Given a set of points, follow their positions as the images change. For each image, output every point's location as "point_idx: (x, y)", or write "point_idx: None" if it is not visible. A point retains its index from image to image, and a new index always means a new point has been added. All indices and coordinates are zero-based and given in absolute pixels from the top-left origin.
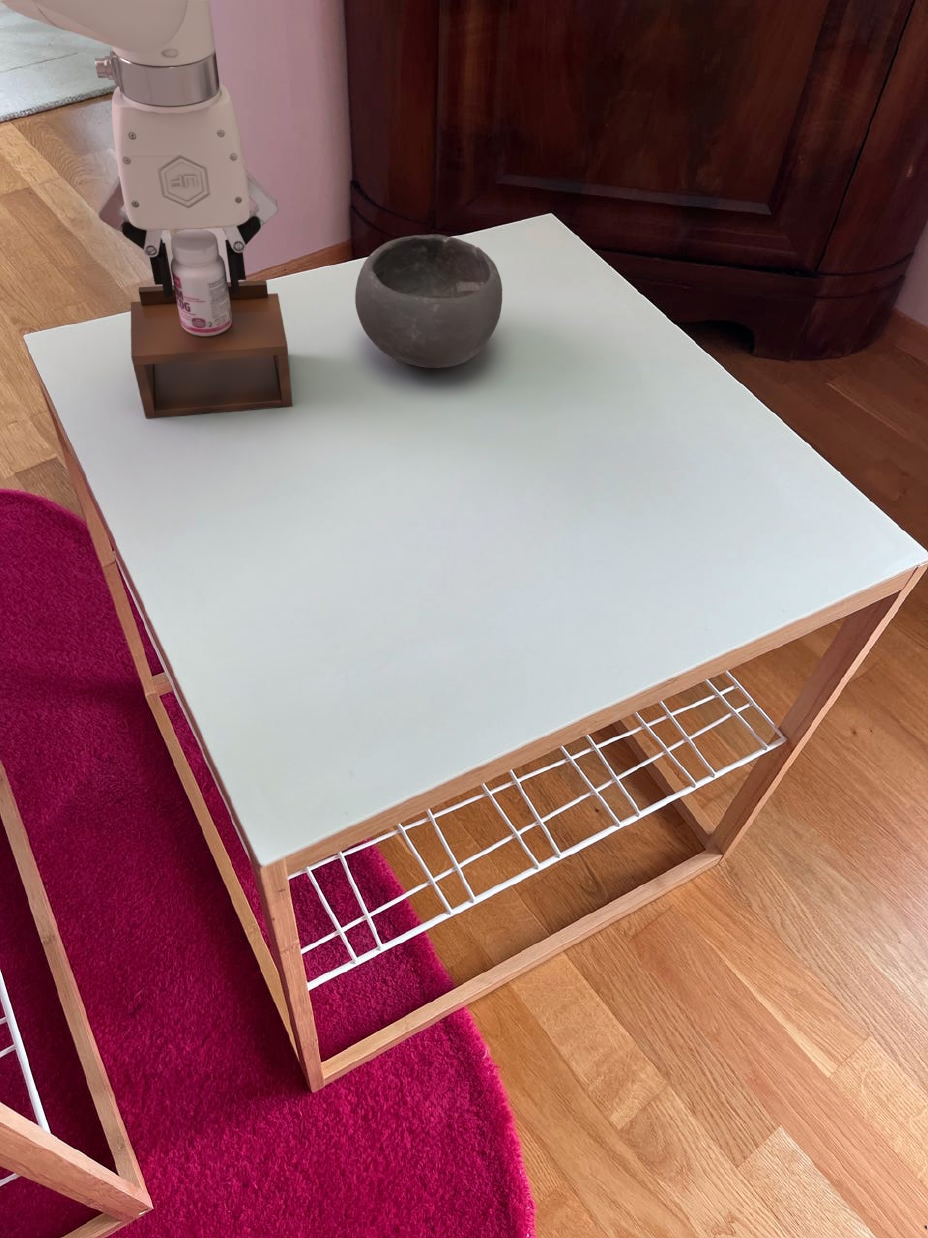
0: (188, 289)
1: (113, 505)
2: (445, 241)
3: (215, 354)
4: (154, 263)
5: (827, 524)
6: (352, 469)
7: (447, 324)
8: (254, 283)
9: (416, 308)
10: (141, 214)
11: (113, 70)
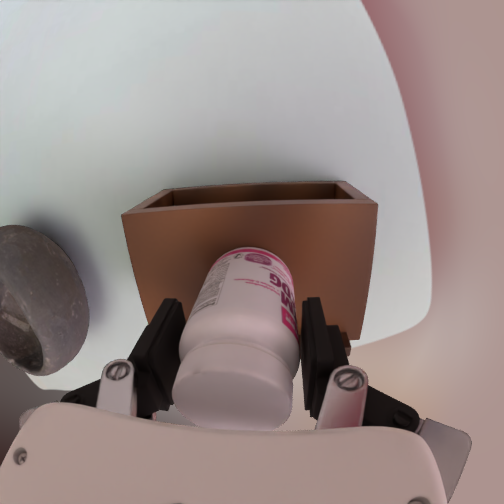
0: (265, 298)
1: (373, 38)
2: (12, 359)
3: (236, 204)
4: (338, 357)
5: None
6: (106, 81)
7: None
8: None
9: None
10: (397, 476)
11: None
